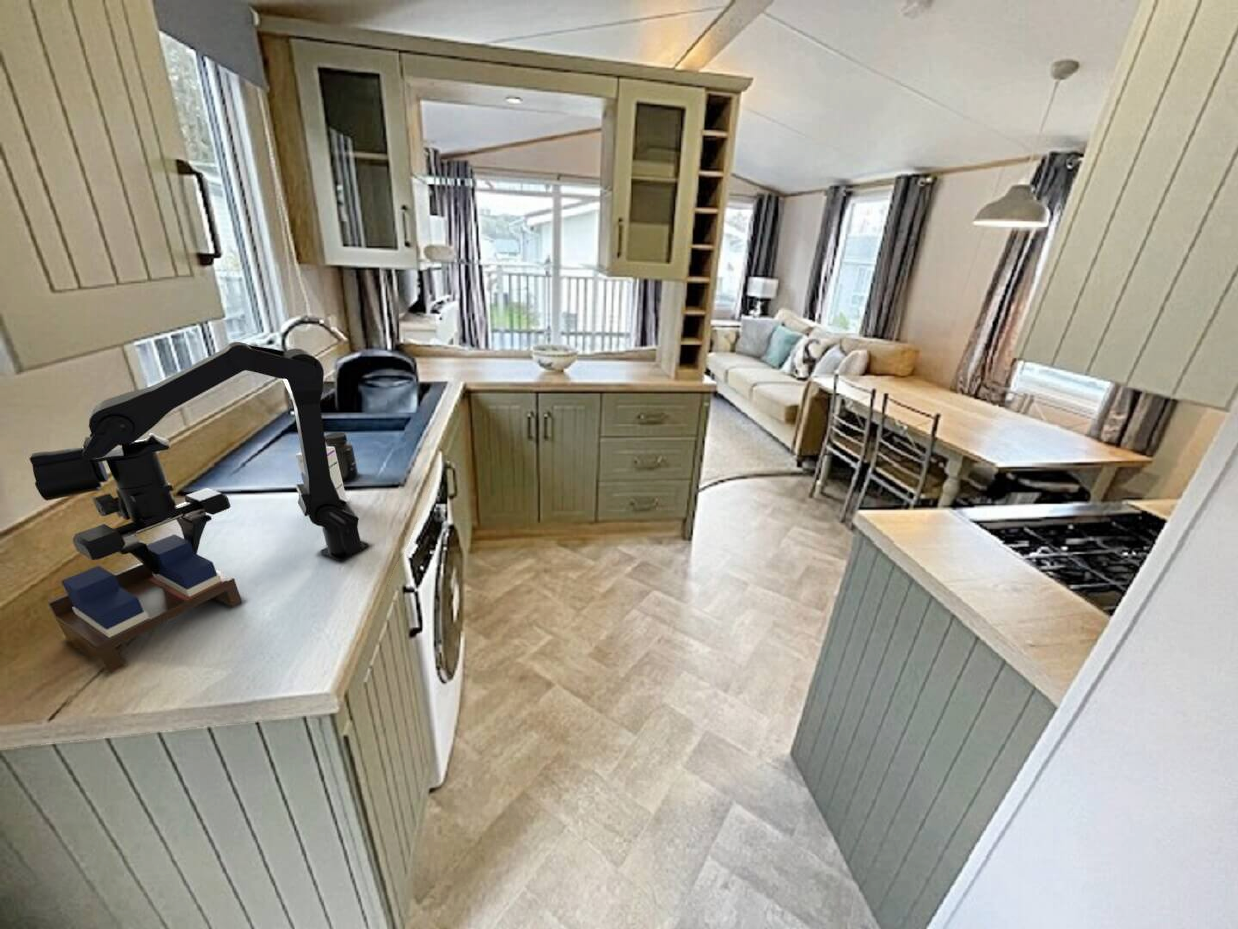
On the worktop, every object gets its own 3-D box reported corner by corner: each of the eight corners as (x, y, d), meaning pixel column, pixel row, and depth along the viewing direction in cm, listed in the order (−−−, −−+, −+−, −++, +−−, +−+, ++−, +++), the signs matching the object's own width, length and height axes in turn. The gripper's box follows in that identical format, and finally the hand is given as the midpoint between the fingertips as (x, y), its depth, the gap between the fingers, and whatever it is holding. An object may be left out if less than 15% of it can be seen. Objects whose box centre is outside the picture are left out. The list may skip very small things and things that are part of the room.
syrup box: (348, 502, 123) (335, 445, 117) (333, 514, 117) (319, 455, 112) (325, 501, 123) (311, 444, 117) (309, 513, 118) (294, 454, 112)
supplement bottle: (363, 479, 135) (354, 435, 130) (335, 487, 130) (324, 442, 125) (353, 471, 139) (344, 428, 134) (326, 478, 135) (315, 435, 130)
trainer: (222, 581, 86) (211, 550, 84) (189, 597, 82) (176, 565, 80) (186, 563, 91) (175, 533, 88) (153, 577, 87) (140, 546, 84)
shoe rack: (242, 602, 89) (229, 566, 86) (110, 673, 74) (89, 632, 72) (198, 579, 95) (185, 544, 92) (67, 640, 80) (46, 601, 77)
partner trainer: (149, 618, 78) (135, 585, 75) (109, 638, 74) (92, 603, 72) (114, 596, 83) (100, 564, 80) (75, 613, 79) (58, 581, 76)
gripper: (182, 451, 92) (210, 528, 98) (37, 493, 76) (80, 581, 83) (218, 463, 87) (244, 543, 93) (70, 510, 72) (113, 602, 78)
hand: (175, 565), depth 87 cm, fingers open, 5 cm apart
